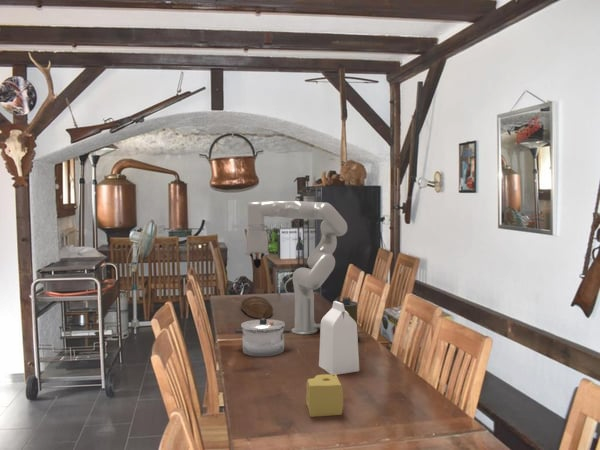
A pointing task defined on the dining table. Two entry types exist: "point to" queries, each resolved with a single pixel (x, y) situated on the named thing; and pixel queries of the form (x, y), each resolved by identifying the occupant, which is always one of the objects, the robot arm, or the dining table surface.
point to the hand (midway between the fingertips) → (257, 267)
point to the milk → (338, 341)
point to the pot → (263, 341)
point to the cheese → (324, 395)
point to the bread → (257, 307)
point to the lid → (263, 324)
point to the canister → (350, 307)
